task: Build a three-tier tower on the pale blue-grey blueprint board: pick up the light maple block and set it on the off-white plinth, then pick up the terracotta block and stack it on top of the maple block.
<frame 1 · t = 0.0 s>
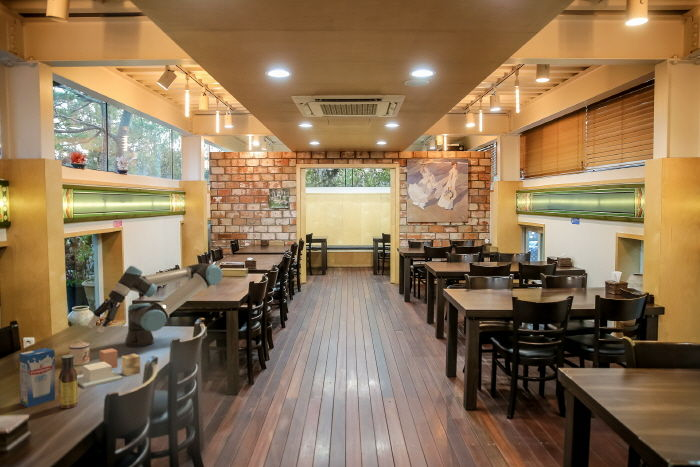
hand: (93, 329, 244), 15 cm above the table, tool tilted 35°, fingers open, 13 cm apart
teacup with lid: (80, 362, 241), on the table
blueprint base: (97, 379, 217), on the table
milk carton: (37, 402, 191), on the table
sauce bottle: (68, 406, 187), on the table
maple block: (130, 373, 226), on the table
terracotta block: (108, 367, 234), on the table
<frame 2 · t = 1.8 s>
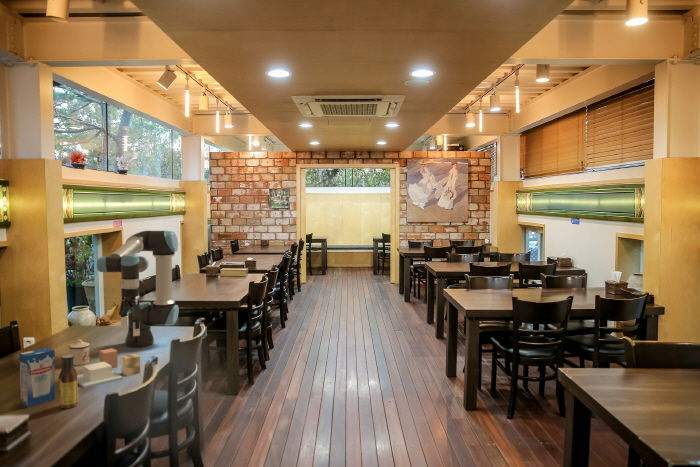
hand: (130, 333, 225), 19 cm above the table, tool pointing down, fingers open, 13 cm apart
nothing on the table moved.
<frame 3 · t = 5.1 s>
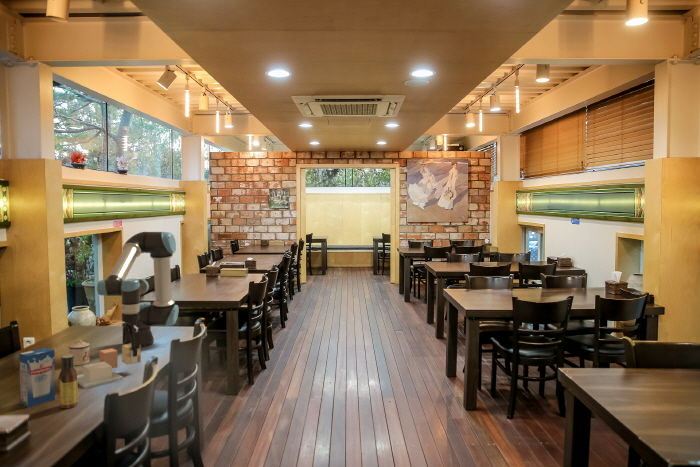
hand: (131, 361, 227), 5 cm above the table, tool pointing down, fingers closed on maple block, 6 cm apart
maple block: (131, 361, 227), point 5 cm above the table, touching gripper
everything else where it was.
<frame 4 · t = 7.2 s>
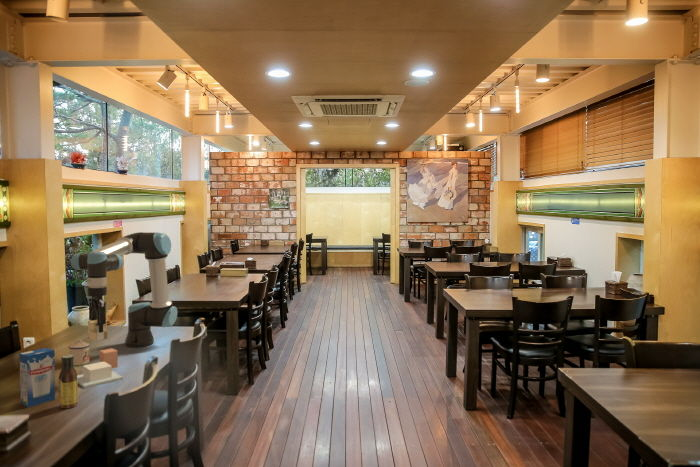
hand: (97, 337, 217), 19 cm above the table, tool pointing down, fingers closed on maple block, 6 cm apart
maple block: (97, 338, 217), point 18 cm above the table, touching gripper
everything else where it was.
when the fingers open (7 cm above the table, at t = 9.6 s): maple block stays where it is, resting on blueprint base.
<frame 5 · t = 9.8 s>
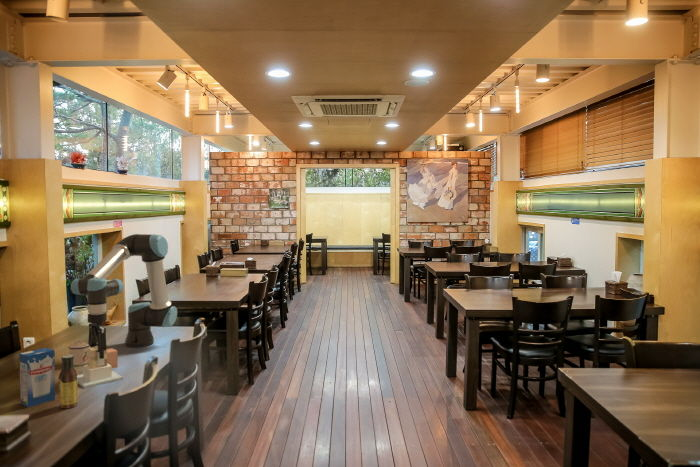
hand: (97, 363, 217), 7 cm above the table, tool pointing down, fingers open, 8 cm apart
maple block: (97, 365, 217), point 6 cm above the table, touching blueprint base
everything else where it was.
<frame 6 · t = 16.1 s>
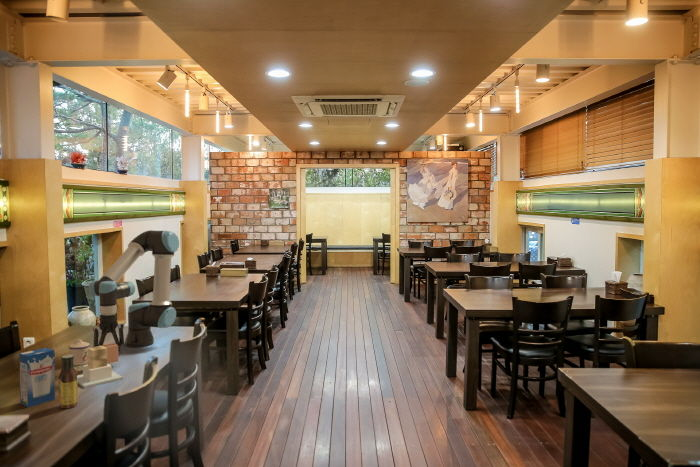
hand: (109, 360, 235), 3 cm above the table, tool pointing down, fingers closed on terracotta block, 6 cm apart
terracotta block: (109, 361, 235), point 3 cm above the table, touching gripper
everything else where it was.
when the fingers open (15 cm above the table, at t = 20.5 s): terracotta block stays where it is, resting on maple block.
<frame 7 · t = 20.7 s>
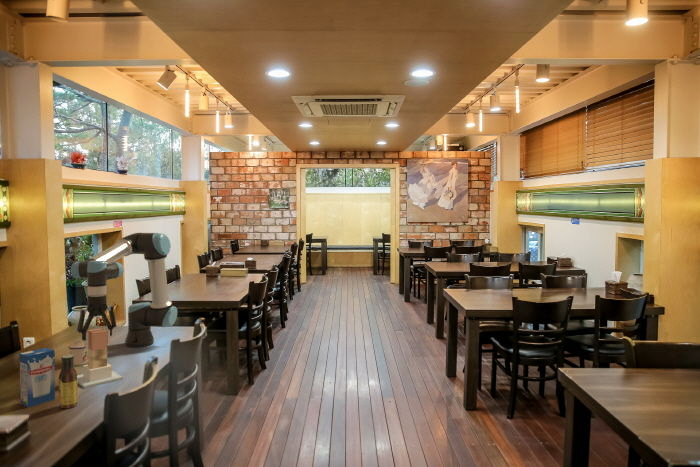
hand: (97, 345, 217), 15 cm above the table, tool pointing down, fingers open, 8 cm apart
maple block: (97, 365, 217), point 6 cm above the table, touching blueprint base, terracotta block
terracotta block: (97, 348, 217), point 14 cm above the table, touching maple block
everything else where it was.
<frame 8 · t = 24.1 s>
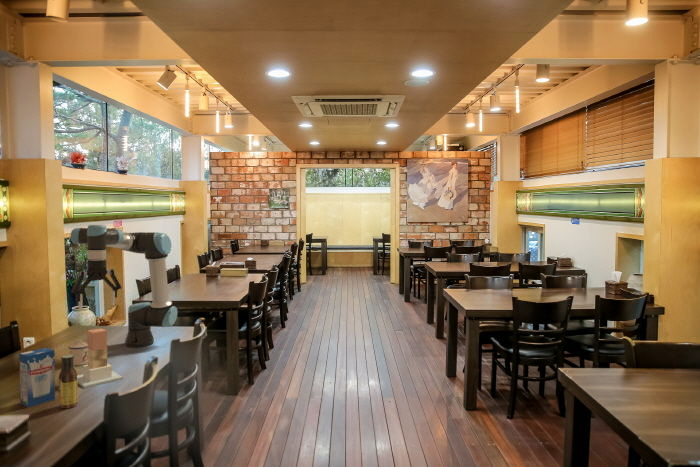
hand: (97, 306, 216), 33 cm above the table, tool pointing down, fingers open, 13 cm apart
nothing on the table moved.
at the end: maple block 0.1 cm off-centre on the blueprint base, point 6.0 cm above the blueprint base's base; terracotta block 0.1 cm off-centre on the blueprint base, point 14.0 cm above the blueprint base's base; terracotta block tilted 0° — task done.
